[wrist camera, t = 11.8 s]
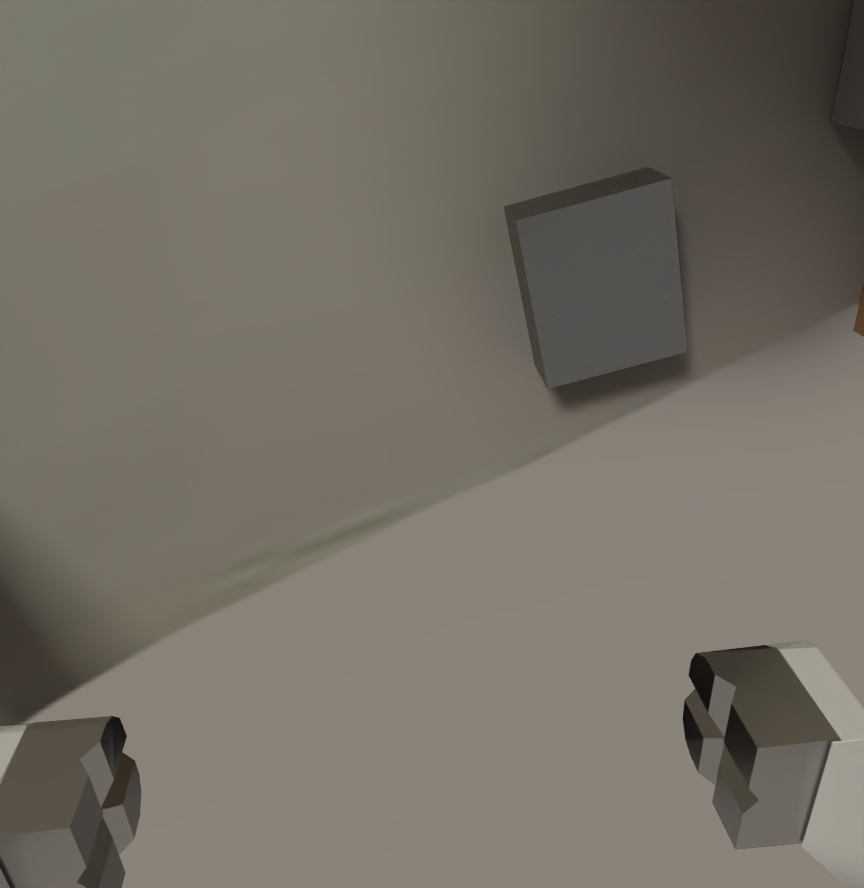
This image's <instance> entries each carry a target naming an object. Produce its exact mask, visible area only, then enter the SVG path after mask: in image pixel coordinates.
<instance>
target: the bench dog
mask: <svg viewBox="0 0 864 888" xmlns="http://www.w3.org/2000/svg"><path fill="white" fill-rule="evenodd" d="M854 331H856V332H857V333H859V334H860V335H862V336H864V287H863V291H862V296H861V300H860V305H859V309H858V313H857V318H856V322H855V327H854Z"/></svg>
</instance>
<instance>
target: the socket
mask: <svg viewBox="0 0 864 888" xmlns="http://www.w3.org/2000/svg"><path fill="white" fill-rule="evenodd" d="M831 123H832V124H837V125H842V126H848V127H853V128H858V129H863V130H864V0H854V4H853V9H852V14H851V19H850V25H849V30H848V35H847V41H846V46H845V51H844V56H843V62H842V67H841V72H840V77H839V83H838V88H837V93H836V99H835V104H834V109H833V114H832V120H831Z"/></svg>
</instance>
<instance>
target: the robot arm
mask: <svg viewBox="0 0 864 888" xmlns="http://www.w3.org/2000/svg"><path fill="white" fill-rule="evenodd" d="M689 677H690V679H691V681H692V683H693V685H694V687H695V690H694V691H693V692H692V693H691V694H690V695H689V696H688V697H687V698H686V699H685V703H684V711H683V725H684V732H685V739H686V742H687V746H688V749H689V752H690V755H691V758H692V760H693V762H694V764H695V766H696V768H697V771H698V773H700V774H701V775H703V776H704V777H705V778H707V779H708V780H710V781H711V782H712V783H714V784H715V785H716V786H715V791H714V797H713V804H714V807H715V809H716V811H717V813H718V815H719V817H720V819H721V821H722V823H723V825H724V827H725V829H726V831H727V833H728V835H729V838H730V840H731V842H732V844H733V846H734V848H735V849H746V848H757V847H767V846H778V845H789V844H799V843H803V844H802V848H804V849H805V850H806V851H807V852H808V853H809V854H811V855H812V856H813V857H814V858H815V859H816V860H818V861H819V862H820V863H821V864H822V865H823V866H825V867H826V868H827V869H828V870H829V871H830V872H832V873H833V874H834V875H835V876H836V877H837V878H838V879H840V880H841V881H842V882H843V883H844V884H846V885H847V886H848V887H849V888H864V708H863V706H862V705H861V704H860V702H859V701H858V700H857V699H856V697H855V696H854V695H853V693H852V692H851V691H850V690H849V688H848V687H847V686H846V684H845V683H844V682H843V681H842V679H841V678H840V677H839V675H838V674H837V673H836V672H835V670H834V669H833V668H832V666H831V665H830V664H829V663H828V661H827V660H826V659H825V657H824V656H823V655H822V654H821V652H820V651H819V650H818V648H817V647H816V646H815V645H814V644H812V643H810V642H809V641H807V640H804V641H796V642H787V643H778V644H770V645H768V646H767V645H761V646H753V647H744V648H736V649H727V650H719V651H710V652H702V653H696V654H695V655H694V657H693V658H692V660H691V663H690V670H689ZM126 737H127V736H126V733H125V730H124V728H123V725H122V723H121V720H120V718H118V717H114V716H110V717H98V718H86V719H73V720H61V721H50V722H37V723H33V724H22V725H10V726H0V888H121V887H122V884H123V880H124V876H125V870H124V868H123V865H122V862H121V859H120V857H119V854H120V853H121V852H122V851H123V850H124V849H125V848H126V847H127V846H128V845H129V844H130V843H131V842H132V840H133V839H134V838H135V834H136V830H137V825H138V821H139V817H140V804H141V786H140V777H139V772H138V769H137V766H136V763H135V761H134V760H133V759H131V758H130V757H129V756H127V755H125V754H124V753H122V751H123V747H124V744H125V741H126Z"/></svg>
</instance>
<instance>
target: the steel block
mask: <svg viewBox="0 0 864 888" xmlns="http://www.w3.org/2000/svg"><path fill="white" fill-rule="evenodd" d="M504 210H505V215H506V220H507V225H508V231H509V236H510V241H511V246H512V251H513V256H514V261H515V266H516V271H517V276H518V282H519V287H520V292H521V297H522V302H523V307H524V312H525V317H526V322H527V327H528V333H529V338H530V343H531V348H532V353H533V358H534V363H535V366H536V368H537V370H538V372H539V374H540V375H541V377H542V379H543V381H544V383H545V385H546V386H547V388H548V389H550V388H553V387H557V386H561V385H565V384H568V383H572V382H576V381H580V380H584V379H587V378H591V377H595V376H599V375H603V374H606V373H610V372H614V371H618V370H621V369H625V368H629V367H633V366H637V365H640V364H644V363H648V362H652V361H656V360H659V359H663V358H667V357H671V356H674V355H678V354H682V353H686V352H687V342H686V331H685V320H684V309H683V297H682V286H681V275H680V264H679V253H678V242H677V231H676V220H675V209H674V198H673V187H672V178H670V177H668V176H666V175H664V174H662V173H659V172H657V171H655V170H653V169H651V168H649V167H647V168H643V169H639V170H636V171H632V172H629V173H625V174H621V175H618V176H614V177H610V178H607V179H603V180H599V181H596V182H592V183H588V184H585V185H581V186H577V187H574V188H570V189H567V190H563V191H559V192H556V193H552V194H548V195H545V196H541V197H537V198H534V199H530V200H526V201H523V202H519V203H516V204H512V205H508V206H505V207H504Z"/></svg>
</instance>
